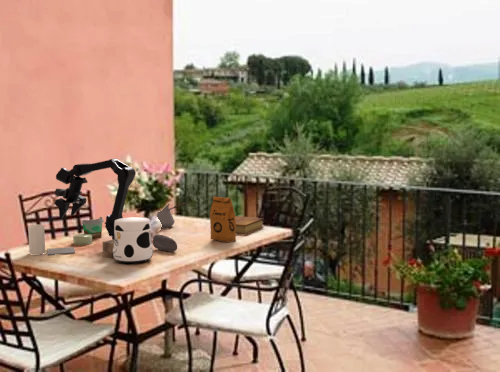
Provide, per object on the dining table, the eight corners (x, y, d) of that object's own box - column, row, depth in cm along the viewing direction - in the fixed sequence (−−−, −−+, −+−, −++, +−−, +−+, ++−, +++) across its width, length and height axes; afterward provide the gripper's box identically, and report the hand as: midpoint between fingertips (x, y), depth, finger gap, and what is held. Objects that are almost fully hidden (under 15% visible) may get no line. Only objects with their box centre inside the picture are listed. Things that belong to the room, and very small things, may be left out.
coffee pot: (149, 227, 357) (149, 200, 356) (163, 224, 367) (162, 198, 365) (179, 231, 346) (178, 203, 344) (192, 227, 355) (192, 201, 353)
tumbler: (46, 253, 294) (45, 226, 292) (32, 255, 290) (31, 227, 288) (42, 251, 299) (40, 224, 297) (28, 253, 295) (26, 225, 293)
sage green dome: (95, 243, 315) (94, 235, 315) (77, 246, 310) (77, 238, 310) (88, 240, 323) (87, 233, 322) (70, 243, 318) (70, 235, 317)
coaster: (73, 248, 305) (73, 246, 305) (75, 253, 294) (75, 252, 294) (47, 250, 301) (47, 248, 301) (47, 255, 290) (47, 254, 290)
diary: (233, 225, 364) (233, 215, 364) (263, 228, 356) (263, 218, 356) (214, 232, 344) (214, 222, 343) (245, 235, 336) (245, 224, 335)
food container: (90, 240, 322) (89, 221, 321) (82, 239, 326) (81, 220, 324) (109, 236, 332) (108, 217, 330) (101, 235, 335) (100, 216, 334)
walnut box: (122, 256, 288) (121, 241, 287) (111, 258, 283) (111, 243, 282) (113, 254, 292) (113, 239, 291) (103, 257, 287) (102, 241, 286)
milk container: (105, 260, 279) (104, 220, 277) (138, 254, 291) (137, 215, 289) (127, 267, 267) (126, 225, 265) (161, 260, 279) (160, 220, 277)
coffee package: (226, 243, 313) (225, 199, 310) (207, 240, 321) (207, 197, 318) (239, 240, 321) (239, 197, 318) (220, 237, 328) (220, 195, 326)
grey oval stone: (180, 252, 295) (180, 237, 295) (172, 254, 292) (171, 239, 291) (160, 247, 306) (160, 233, 305) (151, 249, 302) (151, 234, 301)
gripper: (72, 179, 321) (64, 207, 325) (49, 183, 304) (41, 213, 307) (90, 188, 318) (82, 216, 322) (68, 193, 301) (59, 222, 304)
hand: (66, 217), depth 314 cm, fingers open, 9 cm apart
